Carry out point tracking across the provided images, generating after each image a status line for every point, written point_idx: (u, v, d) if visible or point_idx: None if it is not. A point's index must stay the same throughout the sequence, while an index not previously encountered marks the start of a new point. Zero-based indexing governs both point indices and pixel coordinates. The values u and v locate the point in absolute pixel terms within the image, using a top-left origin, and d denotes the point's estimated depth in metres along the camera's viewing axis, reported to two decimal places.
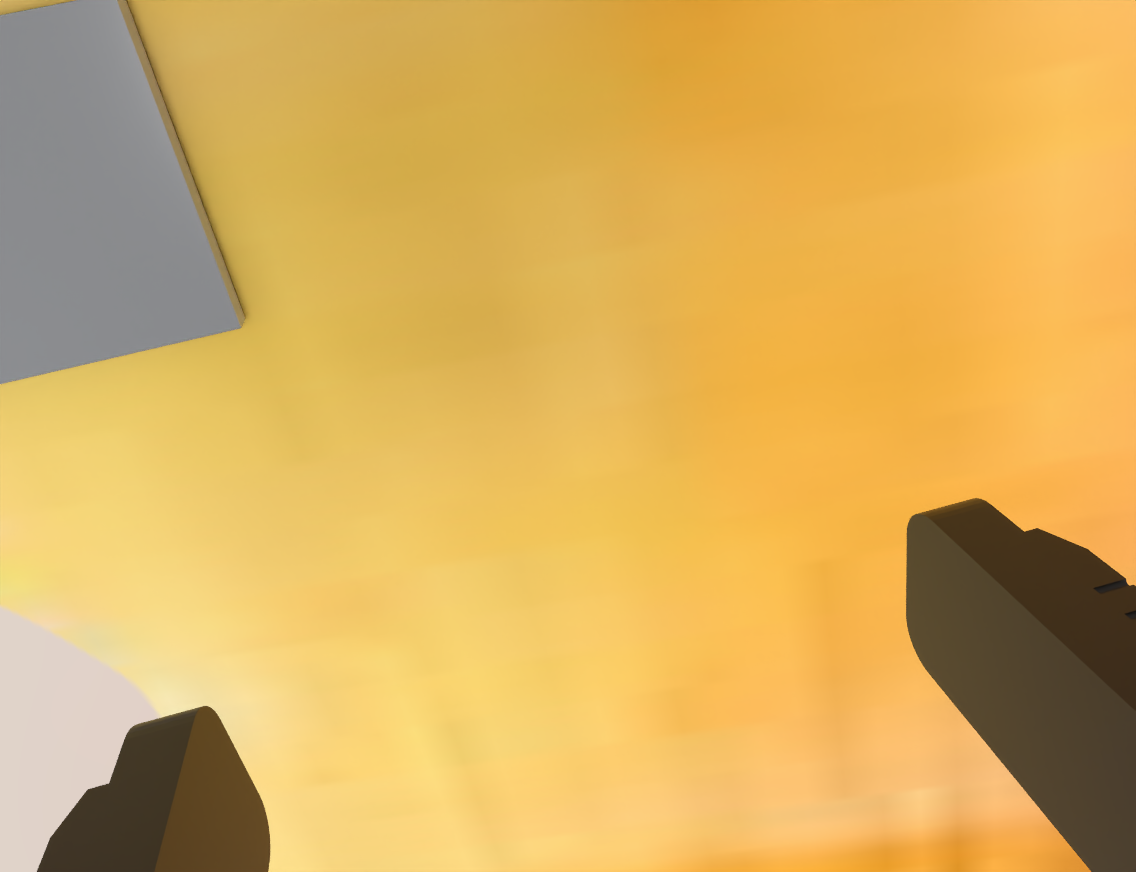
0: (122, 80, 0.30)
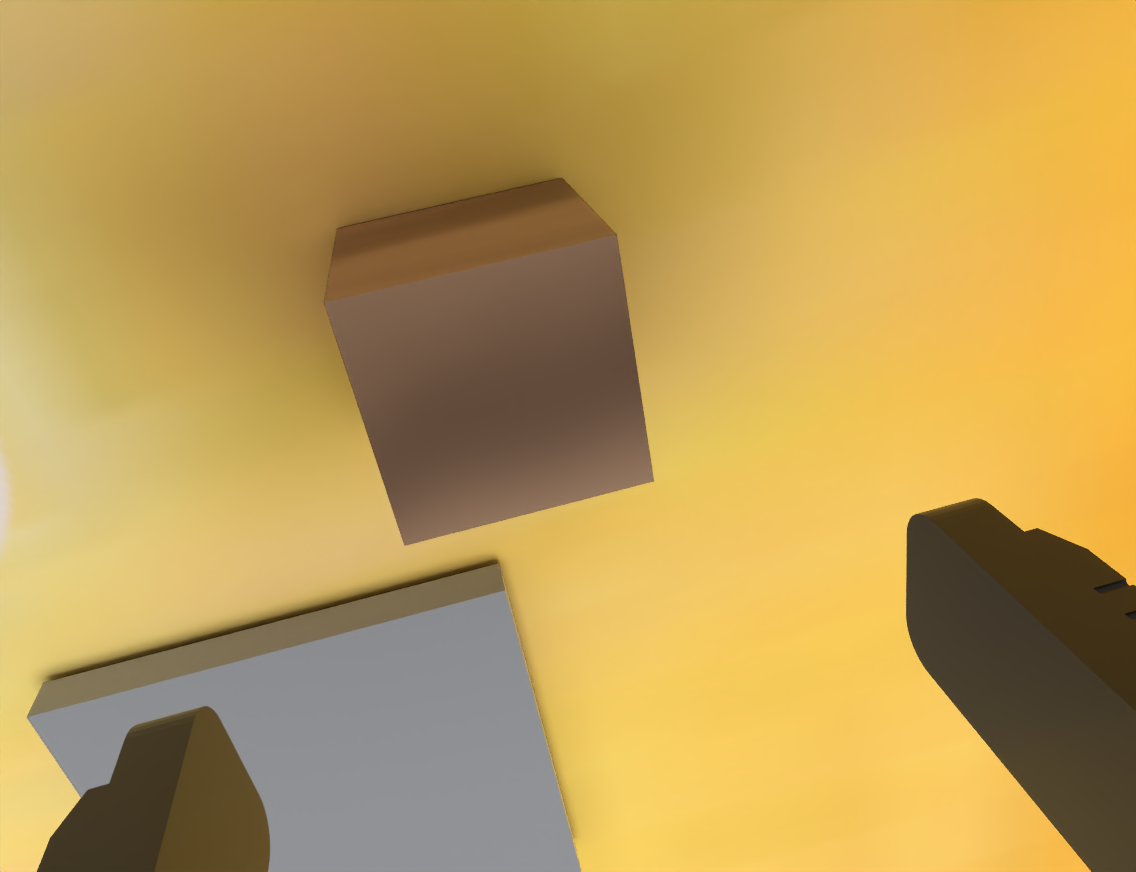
0: (496, 672, 0.23)
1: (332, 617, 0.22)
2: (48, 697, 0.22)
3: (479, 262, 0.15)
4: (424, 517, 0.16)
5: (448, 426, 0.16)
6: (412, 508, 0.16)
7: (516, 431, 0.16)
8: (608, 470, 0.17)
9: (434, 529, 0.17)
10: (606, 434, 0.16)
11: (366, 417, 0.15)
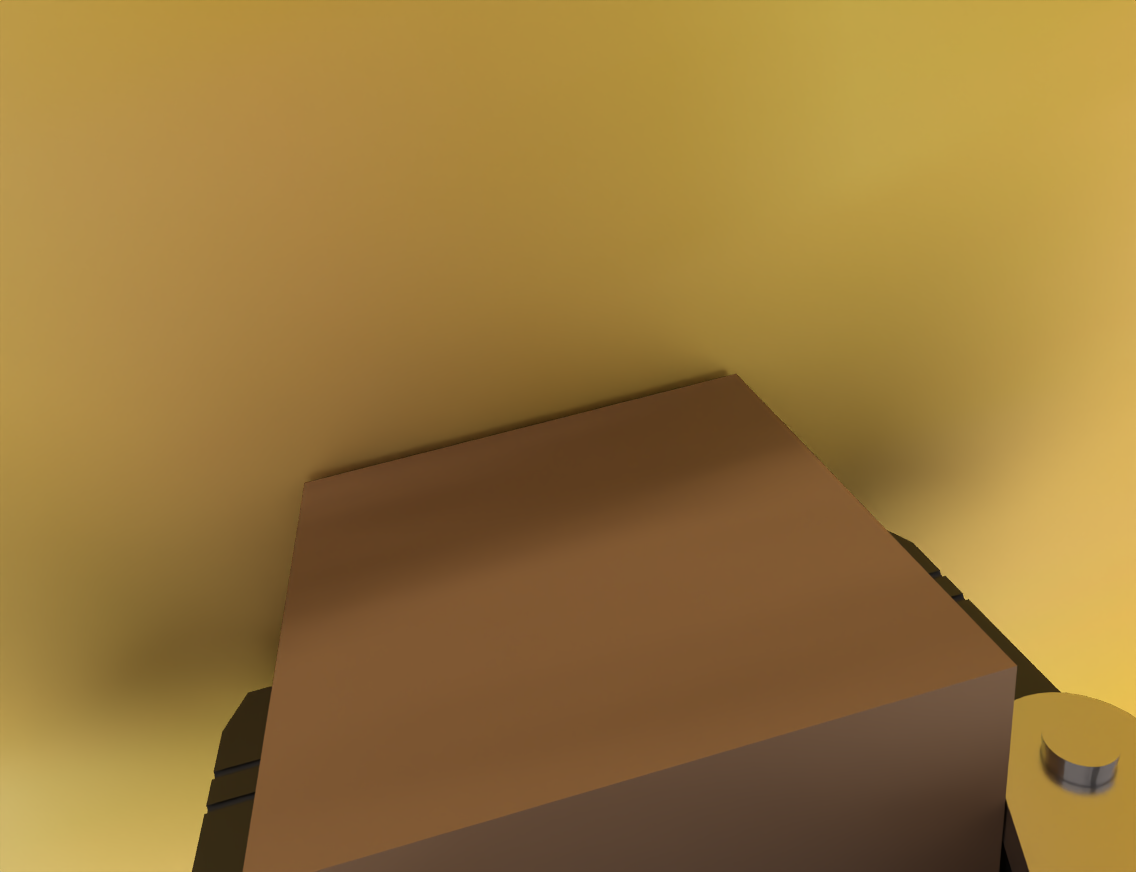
0: None
1: None
2: None
3: (655, 740, 0.06)
4: None
5: None
6: None
7: None
8: None
9: None
10: None
11: None
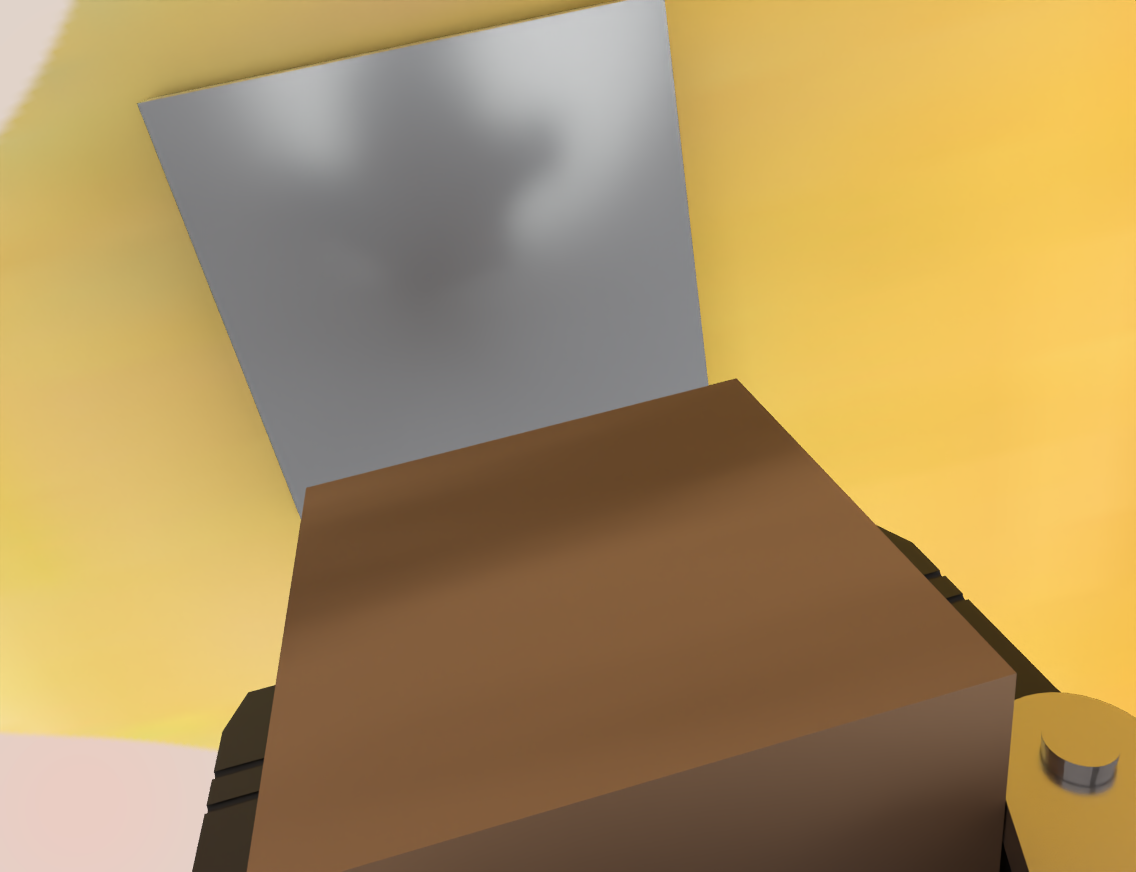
0: (646, 116, 0.21)
1: (470, 31, 0.20)
2: (158, 97, 0.19)
3: (657, 746, 0.06)
4: None
5: None
6: None
7: None
8: None
9: None
10: None
11: None
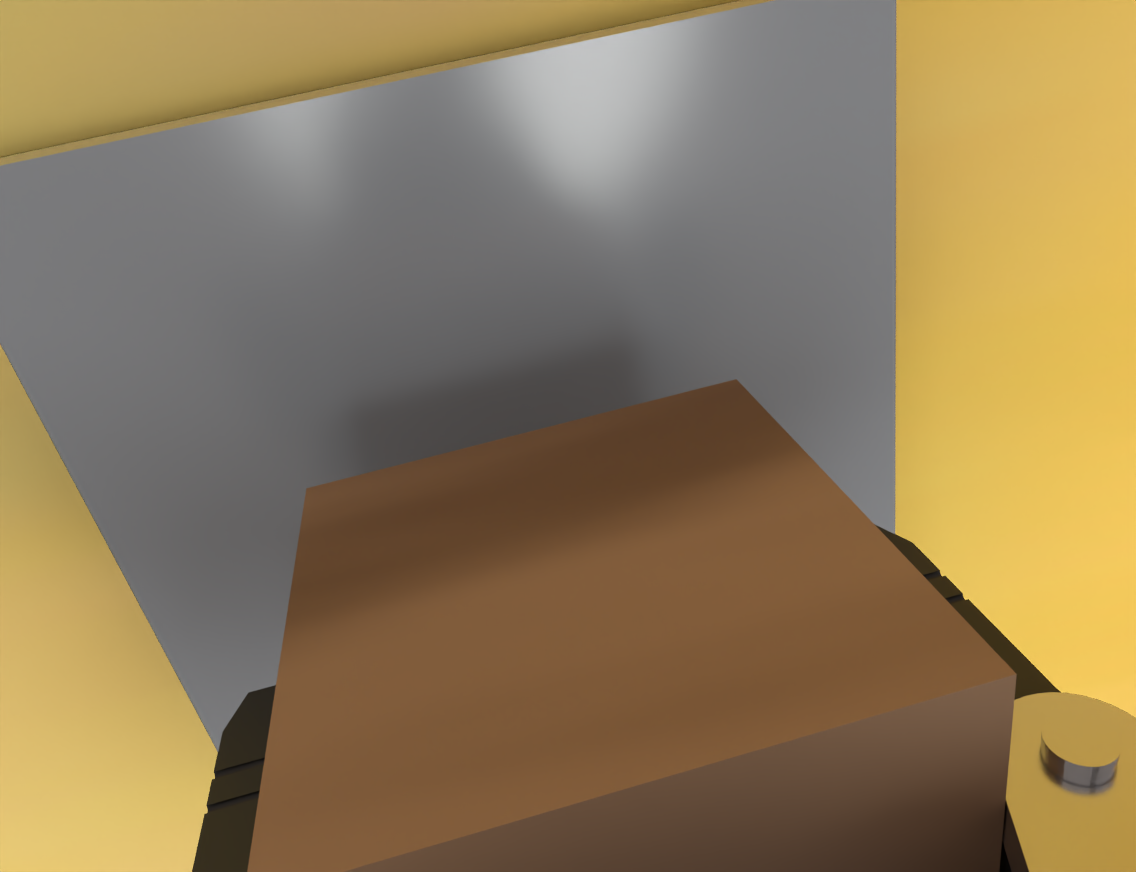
0: (842, 192, 0.12)
1: (541, 44, 0.11)
2: None
3: (656, 747, 0.06)
4: None
5: None
6: None
7: None
8: None
9: None
10: None
11: None
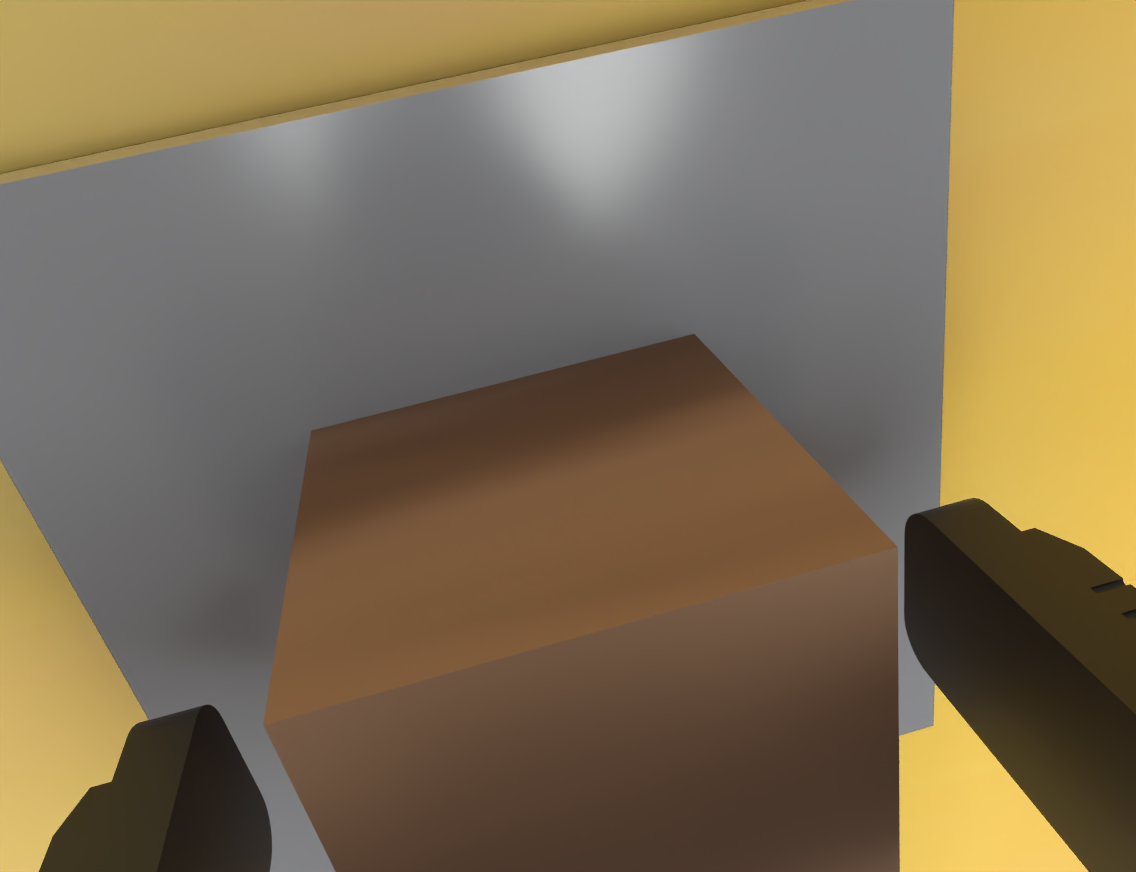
0: (890, 217, 0.11)
1: (561, 56, 0.10)
2: None
3: (601, 609, 0.07)
4: None
5: None
6: None
7: None
8: None
9: None
10: None
11: None
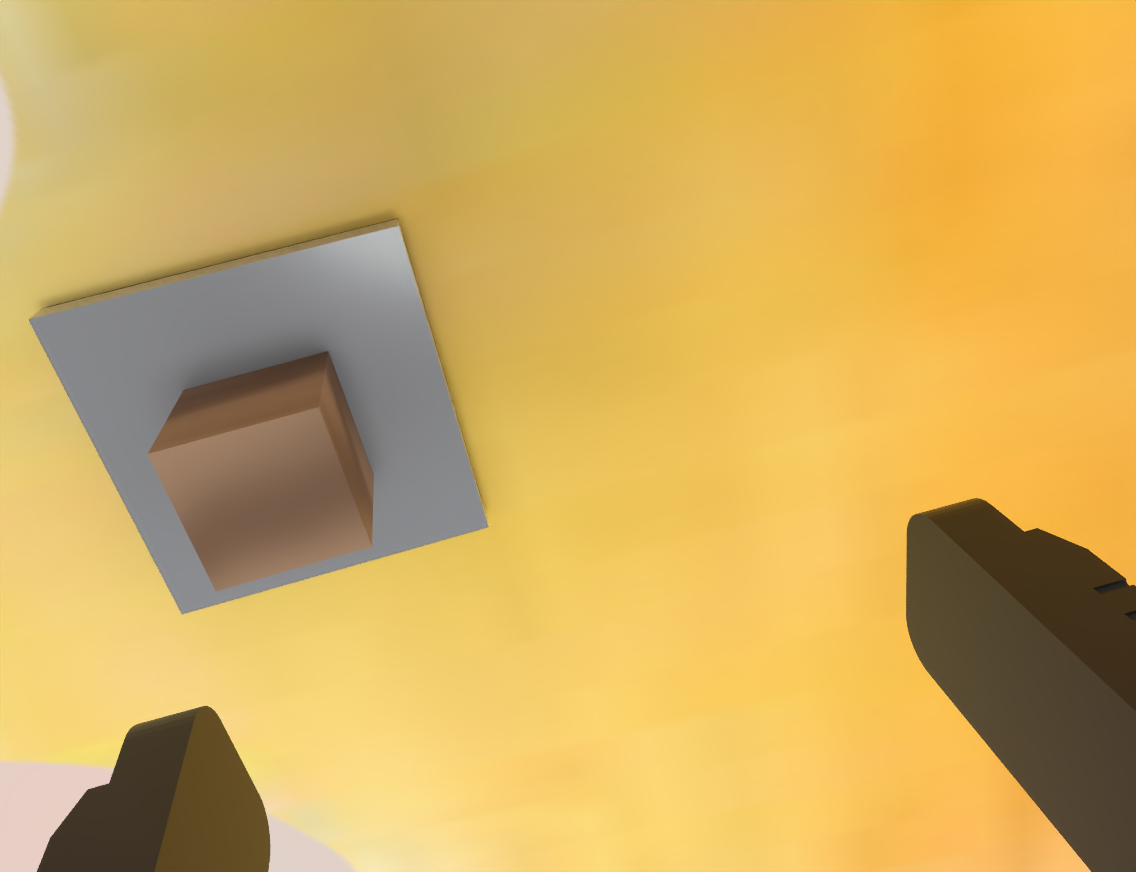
0: (398, 306, 0.29)
1: (265, 255, 0.29)
2: (45, 311, 0.28)
3: (239, 425, 0.25)
4: (226, 574, 0.27)
5: (232, 519, 0.26)
6: (217, 568, 0.27)
7: (276, 520, 0.26)
8: (341, 541, 0.27)
9: (234, 581, 0.27)
10: (335, 519, 0.27)
11: (181, 516, 0.26)
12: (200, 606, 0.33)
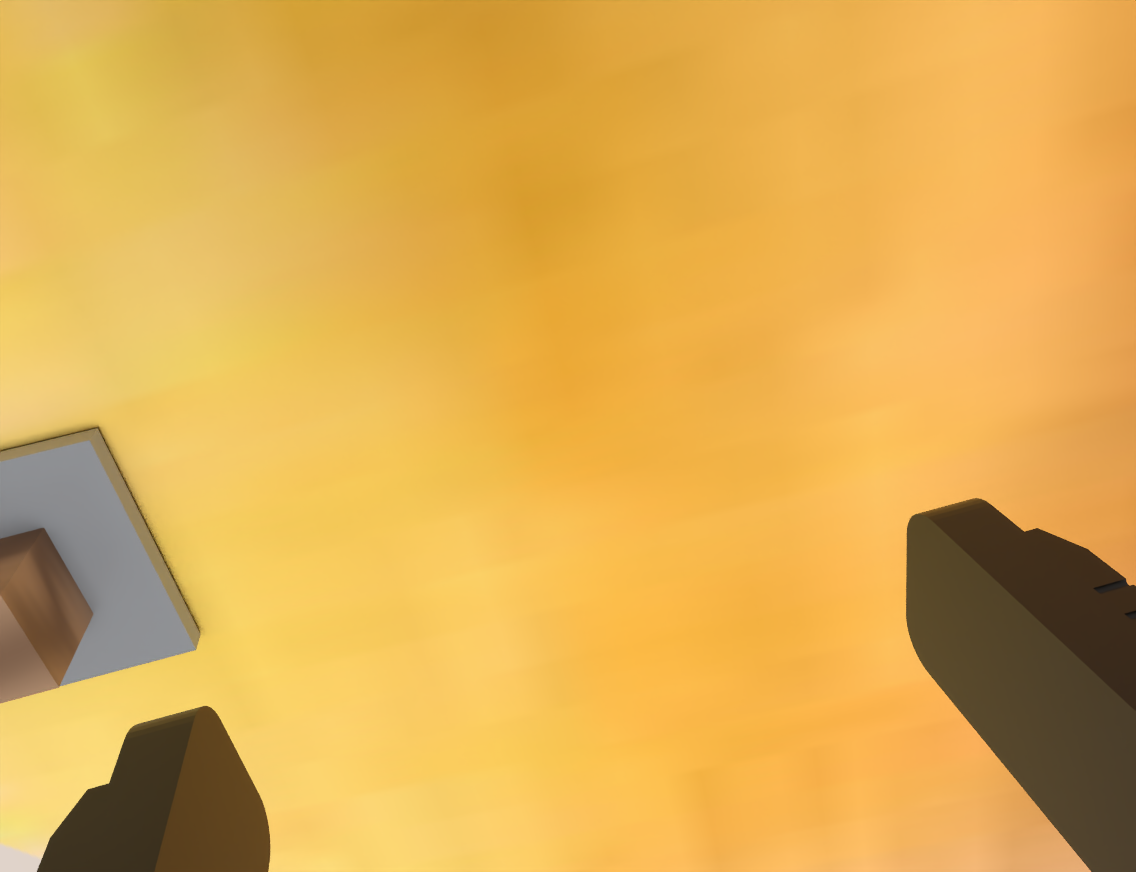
0: (96, 495, 0.38)
1: None
2: None
3: None
4: None
5: None
6: None
7: None
8: (32, 684, 0.36)
9: None
10: (25, 669, 0.36)
11: None
12: None
